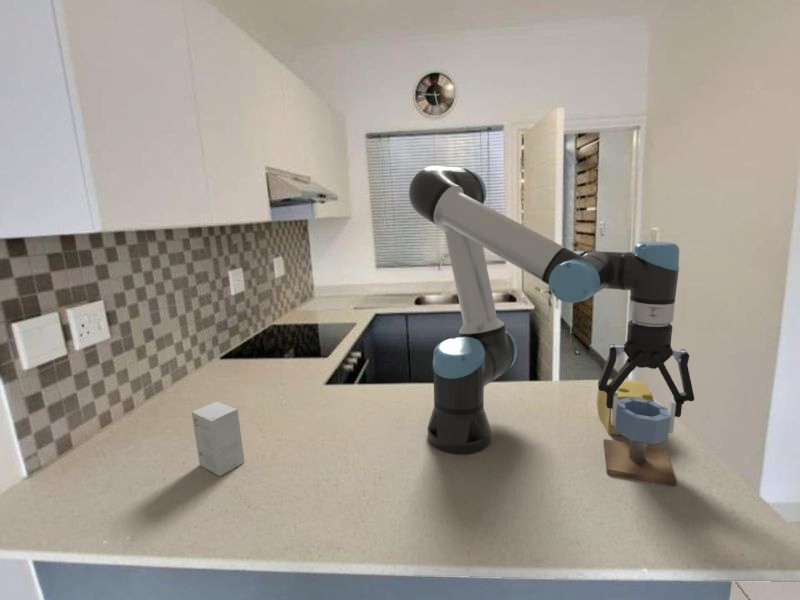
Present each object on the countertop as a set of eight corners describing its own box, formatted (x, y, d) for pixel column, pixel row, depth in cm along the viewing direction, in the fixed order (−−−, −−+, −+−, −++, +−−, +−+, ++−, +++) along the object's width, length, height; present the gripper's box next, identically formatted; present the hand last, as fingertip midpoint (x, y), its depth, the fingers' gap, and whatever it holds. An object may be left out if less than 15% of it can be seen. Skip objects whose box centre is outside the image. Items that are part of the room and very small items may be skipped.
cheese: (655, 438, 98) (659, 399, 96) (605, 435, 100) (608, 396, 98) (640, 417, 108) (643, 380, 106) (595, 414, 110) (597, 378, 108)
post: (606, 473, 86) (610, 428, 84) (603, 442, 97) (606, 402, 95) (675, 486, 82) (681, 439, 79) (664, 452, 92) (668, 410, 90)
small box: (245, 462, 95) (238, 408, 92) (219, 477, 90) (211, 421, 87) (224, 451, 99) (217, 400, 96) (198, 465, 94) (190, 411, 91)
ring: (615, 437, 85) (618, 414, 84) (613, 415, 94) (615, 395, 93) (670, 447, 82) (673, 423, 81) (661, 423, 90) (665, 402, 89)
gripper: (588, 323, 83) (582, 426, 88) (724, 331, 75) (710, 444, 80) (587, 313, 90) (582, 410, 95) (712, 320, 82) (699, 425, 87)
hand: (640, 425), depth 87 cm, fingers closed on ring, 9 cm apart
